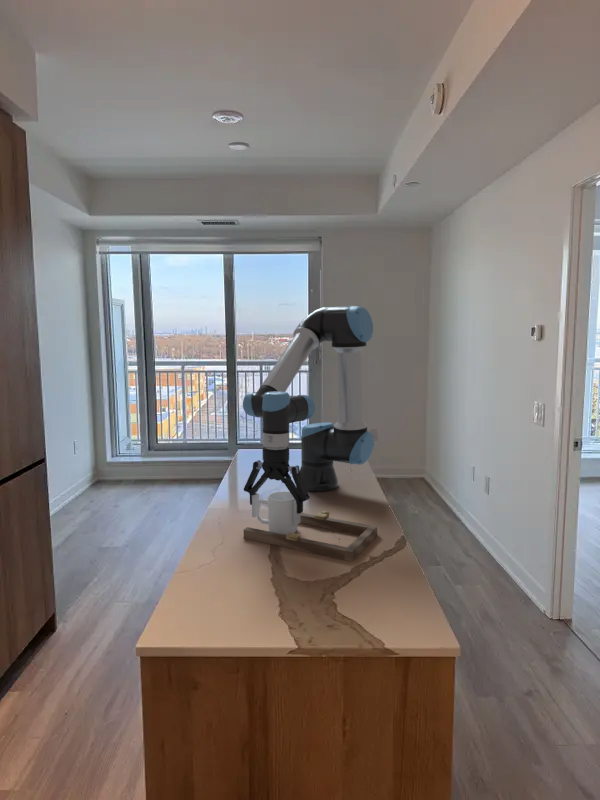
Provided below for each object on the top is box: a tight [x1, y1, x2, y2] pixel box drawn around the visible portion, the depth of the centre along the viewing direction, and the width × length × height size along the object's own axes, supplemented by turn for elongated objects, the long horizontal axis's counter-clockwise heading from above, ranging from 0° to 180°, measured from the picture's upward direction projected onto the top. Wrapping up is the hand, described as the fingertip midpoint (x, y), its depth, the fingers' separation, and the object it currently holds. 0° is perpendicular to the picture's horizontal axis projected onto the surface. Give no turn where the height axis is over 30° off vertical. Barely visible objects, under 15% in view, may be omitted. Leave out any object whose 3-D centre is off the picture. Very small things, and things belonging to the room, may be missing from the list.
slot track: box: [243, 510, 378, 562], centre depth 146 cm, size 22×32×3 cm
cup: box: [256, 491, 298, 535], centre depth 150 cm, size 8×12×10 cm
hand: (275, 519), depth 150 cm, fingers open, 13 cm apart
